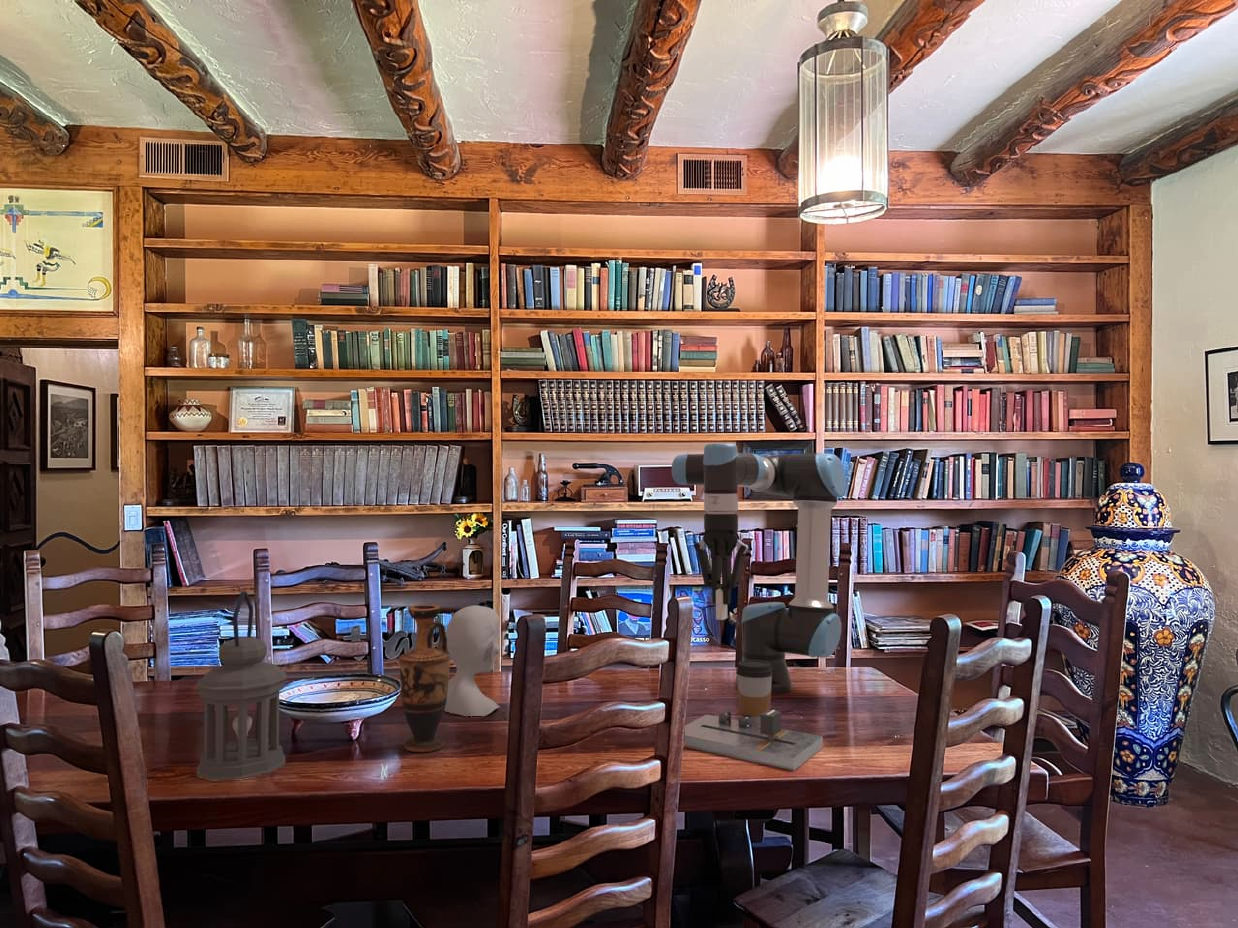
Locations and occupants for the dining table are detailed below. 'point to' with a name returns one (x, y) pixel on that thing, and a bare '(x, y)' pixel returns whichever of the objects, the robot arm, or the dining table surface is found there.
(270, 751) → the lantern
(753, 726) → the console
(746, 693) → the coffee cup
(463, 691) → the head bust
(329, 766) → the dining table surface
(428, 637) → the vase
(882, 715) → the dining table surface
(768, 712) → the fader
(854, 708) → the dining table surface
